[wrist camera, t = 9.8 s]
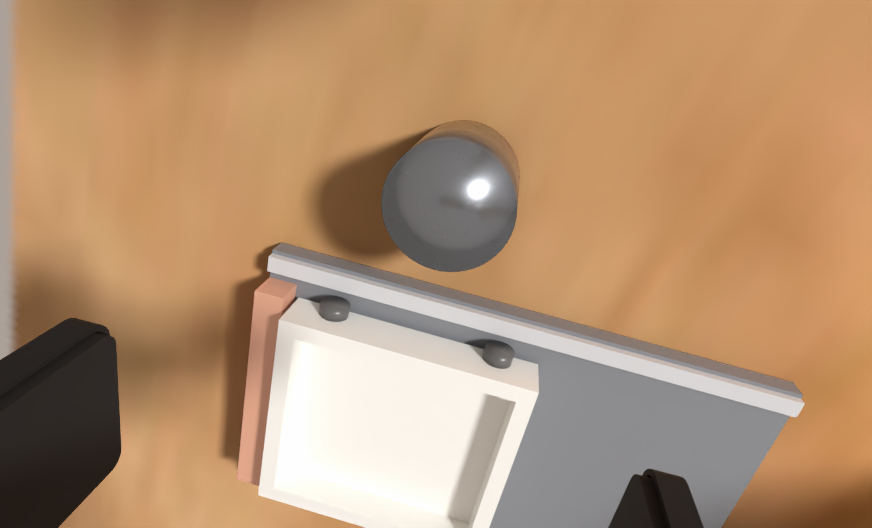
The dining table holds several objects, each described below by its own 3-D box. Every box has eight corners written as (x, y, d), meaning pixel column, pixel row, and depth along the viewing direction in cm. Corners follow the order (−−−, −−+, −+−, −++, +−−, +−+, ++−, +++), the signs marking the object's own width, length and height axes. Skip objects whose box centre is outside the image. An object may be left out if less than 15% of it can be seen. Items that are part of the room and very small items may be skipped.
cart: (541, 352, 26) (542, 381, 24) (478, 531, 31) (474, 569, 29) (301, 285, 27) (280, 308, 24) (276, 470, 31) (257, 503, 29)
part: (533, 136, 23) (534, 160, 19) (502, 241, 25) (496, 286, 21) (420, 107, 24) (394, 124, 19) (399, 214, 26) (371, 252, 21)
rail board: (793, 382, 26) (820, 417, 23) (669, 589, 32) (680, 633, 29) (281, 242, 27) (257, 262, 25) (256, 465, 33) (234, 498, 31)
